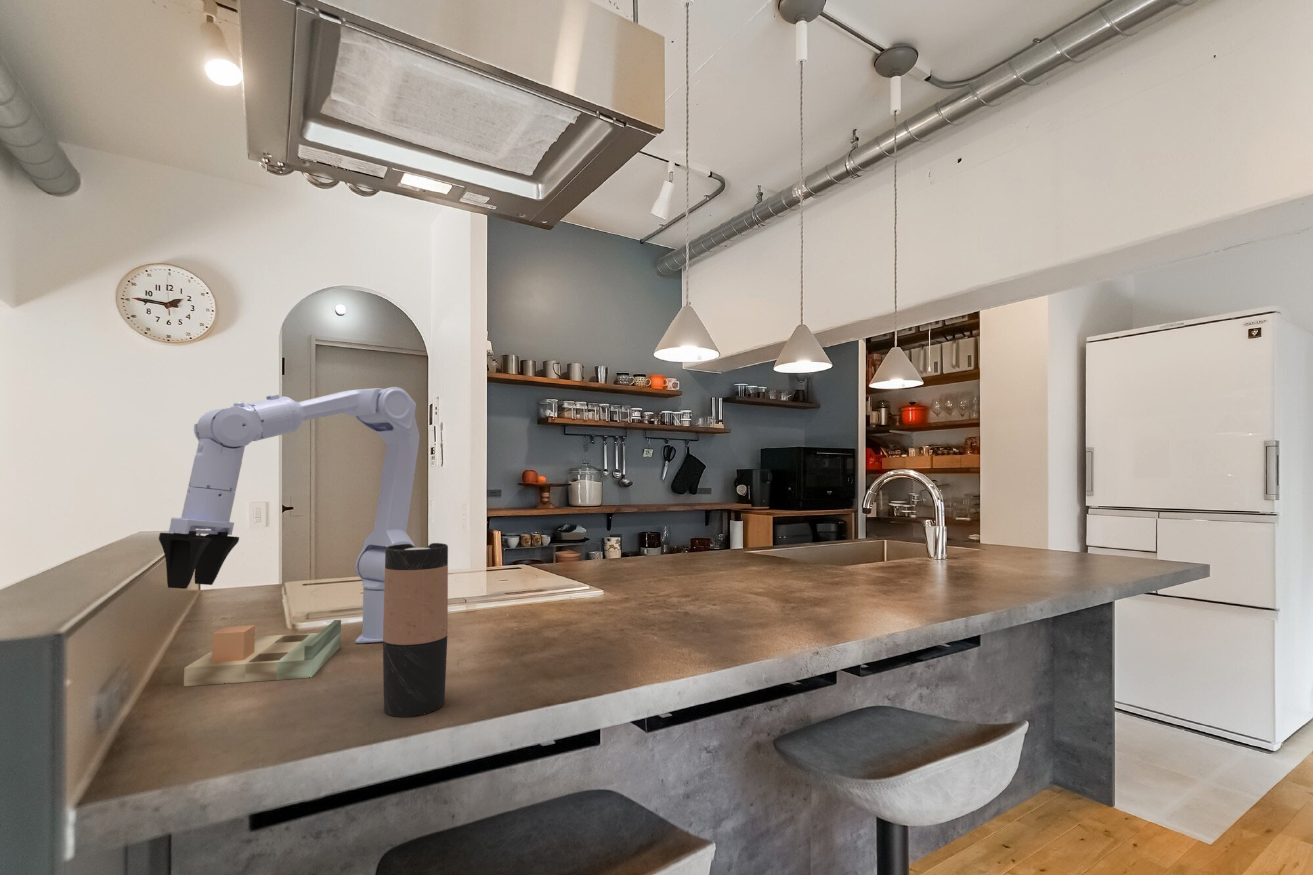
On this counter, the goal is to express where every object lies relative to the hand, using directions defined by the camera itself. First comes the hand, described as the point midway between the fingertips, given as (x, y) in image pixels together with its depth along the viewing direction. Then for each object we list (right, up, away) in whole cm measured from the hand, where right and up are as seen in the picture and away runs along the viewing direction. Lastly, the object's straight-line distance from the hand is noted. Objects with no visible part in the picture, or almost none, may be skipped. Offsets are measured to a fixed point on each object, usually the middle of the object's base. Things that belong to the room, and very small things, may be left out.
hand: (191, 586), depth 89 cm
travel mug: (+35, -13, -9) cm, 38 cm away
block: (+4, -11, +3) cm, 12 cm away
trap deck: (+6, -14, +8) cm, 17 cm away
